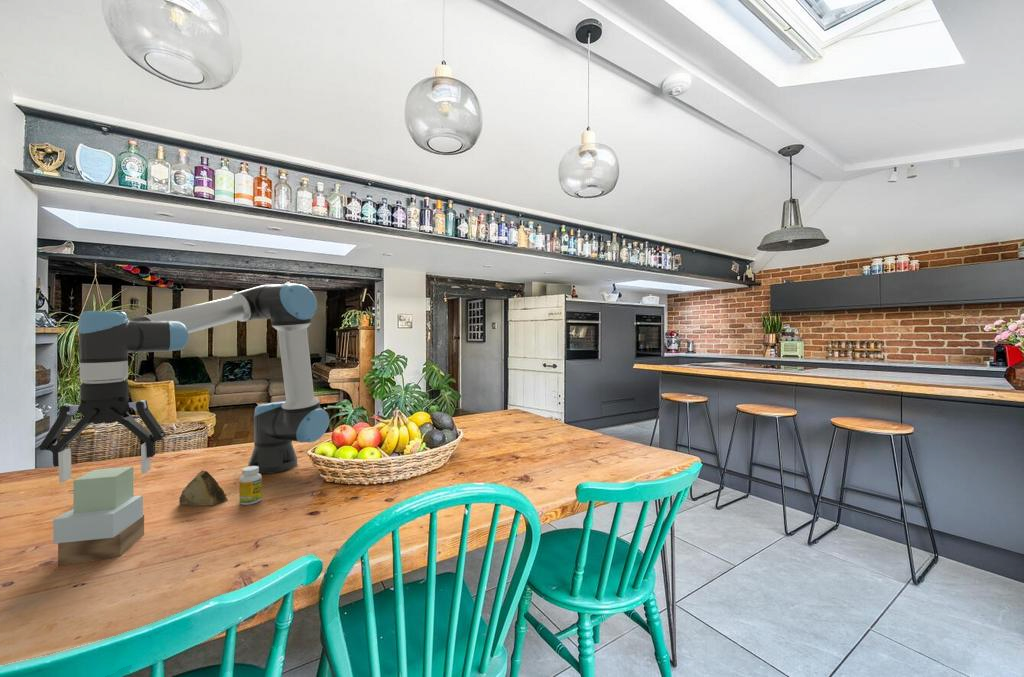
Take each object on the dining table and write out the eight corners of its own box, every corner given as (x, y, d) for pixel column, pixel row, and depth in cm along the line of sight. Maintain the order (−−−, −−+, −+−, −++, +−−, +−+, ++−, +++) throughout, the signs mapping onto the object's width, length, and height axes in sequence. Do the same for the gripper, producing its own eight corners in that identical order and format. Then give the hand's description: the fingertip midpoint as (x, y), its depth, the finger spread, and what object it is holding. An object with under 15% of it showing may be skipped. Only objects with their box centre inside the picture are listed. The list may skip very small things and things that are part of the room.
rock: (164, 499, 110) (183, 501, 105) (185, 468, 115) (204, 469, 110) (202, 511, 117) (221, 513, 113) (219, 482, 122) (239, 483, 118)
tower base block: (144, 535, 95) (144, 514, 95) (120, 557, 86) (120, 534, 86) (88, 542, 92) (88, 521, 92) (58, 566, 82) (58, 542, 82)
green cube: (133, 496, 93) (133, 466, 93) (115, 508, 87) (115, 476, 87) (94, 500, 91) (94, 469, 91) (73, 513, 84) (73, 480, 84)
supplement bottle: (246, 497, 117) (247, 464, 117) (265, 497, 117) (265, 464, 117) (234, 505, 112) (234, 471, 111) (254, 505, 112) (254, 471, 112)
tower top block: (142, 516, 94) (142, 495, 94) (113, 537, 84) (113, 513, 84) (89, 521, 91) (89, 499, 91) (53, 543, 82) (53, 519, 82)
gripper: (181, 376, 97) (182, 463, 98) (38, 381, 87) (40, 478, 88) (169, 380, 90) (171, 473, 91) (12, 386, 80) (15, 491, 81)
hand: (107, 476), depth 89 cm, fingers open, 13 cm apart
